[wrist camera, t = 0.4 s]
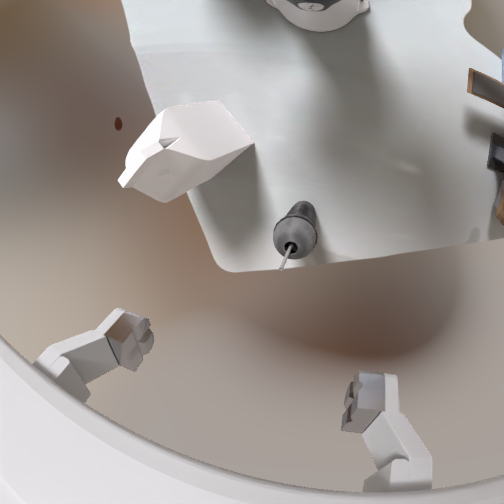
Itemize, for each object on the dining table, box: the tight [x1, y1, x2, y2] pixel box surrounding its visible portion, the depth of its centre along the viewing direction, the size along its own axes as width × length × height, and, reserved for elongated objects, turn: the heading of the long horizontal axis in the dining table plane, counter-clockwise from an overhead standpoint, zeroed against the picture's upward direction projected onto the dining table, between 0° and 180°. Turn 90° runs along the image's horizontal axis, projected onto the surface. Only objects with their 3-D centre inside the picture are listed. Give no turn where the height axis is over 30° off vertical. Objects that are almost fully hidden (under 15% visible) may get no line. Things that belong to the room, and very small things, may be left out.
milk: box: [118, 100, 254, 203], centre depth 42 cm, size 12×12×26 cm
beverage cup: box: [273, 201, 317, 270], centre depth 47 cm, size 7×7×20 cm
